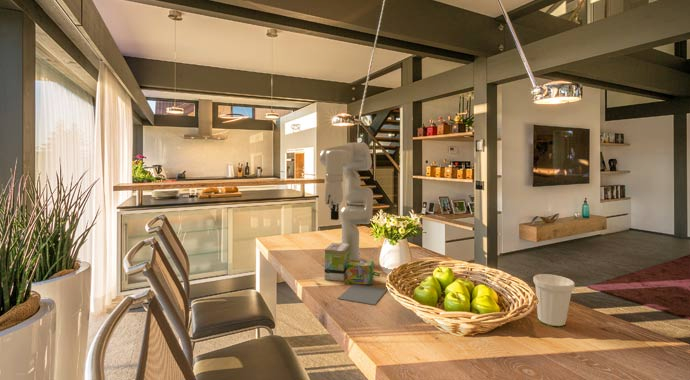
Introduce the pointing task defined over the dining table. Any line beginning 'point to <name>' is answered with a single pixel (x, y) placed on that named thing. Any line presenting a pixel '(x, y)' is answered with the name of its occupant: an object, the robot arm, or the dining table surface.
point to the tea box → (336, 261)
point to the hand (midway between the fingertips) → (334, 219)
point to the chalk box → (360, 272)
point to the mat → (363, 294)
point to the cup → (553, 298)
